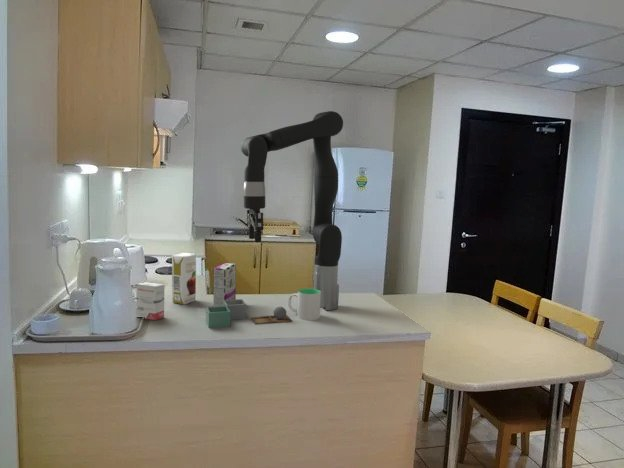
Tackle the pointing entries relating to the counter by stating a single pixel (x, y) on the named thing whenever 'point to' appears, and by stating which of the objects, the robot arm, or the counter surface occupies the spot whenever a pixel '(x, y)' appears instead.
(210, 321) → the green open box
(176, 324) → the counter surface
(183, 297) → the juice carton
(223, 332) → the counter surface
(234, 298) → the candy bar box
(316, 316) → the mug
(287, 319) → the rack
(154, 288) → the ink box
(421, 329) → the counter surface
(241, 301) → the grey open box
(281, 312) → the ball grey
